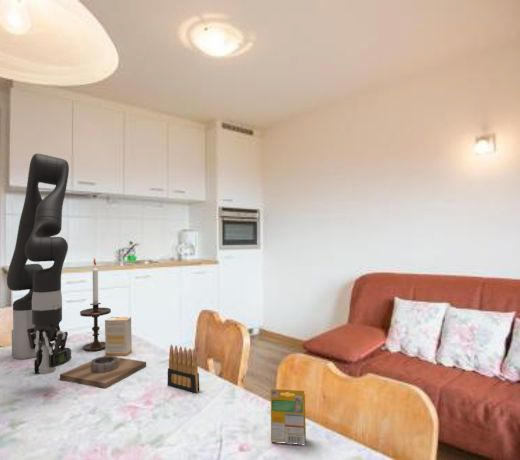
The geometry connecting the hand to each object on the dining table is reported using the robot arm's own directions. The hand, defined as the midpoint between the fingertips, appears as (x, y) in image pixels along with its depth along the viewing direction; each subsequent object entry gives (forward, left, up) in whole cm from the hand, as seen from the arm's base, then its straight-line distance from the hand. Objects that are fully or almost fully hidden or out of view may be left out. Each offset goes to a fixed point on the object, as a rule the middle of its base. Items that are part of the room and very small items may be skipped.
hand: (47, 365), depth 105 cm
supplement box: (-3, +31, -7) cm, 32 cm away
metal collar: (+6, +15, -5) cm, 17 cm away
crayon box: (+72, 0, -7) cm, 73 cm away
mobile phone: (-14, +14, -7) cm, 21 cm away
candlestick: (-16, +33, -7) cm, 37 cm away
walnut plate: (+6, +15, -7) cm, 18 cm away
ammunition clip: (+36, +14, -7) cm, 40 cm away
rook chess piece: (0, 0, -2) cm, 2 cm away
